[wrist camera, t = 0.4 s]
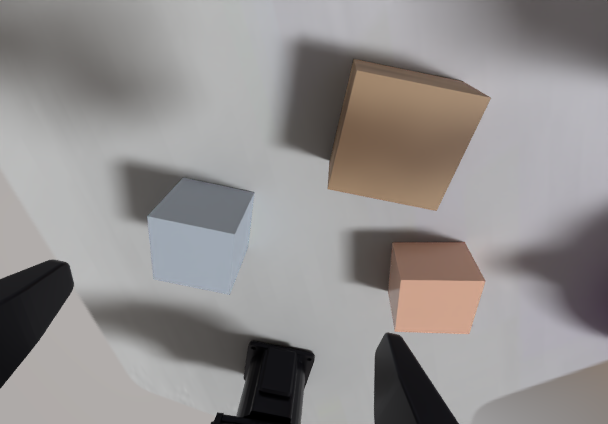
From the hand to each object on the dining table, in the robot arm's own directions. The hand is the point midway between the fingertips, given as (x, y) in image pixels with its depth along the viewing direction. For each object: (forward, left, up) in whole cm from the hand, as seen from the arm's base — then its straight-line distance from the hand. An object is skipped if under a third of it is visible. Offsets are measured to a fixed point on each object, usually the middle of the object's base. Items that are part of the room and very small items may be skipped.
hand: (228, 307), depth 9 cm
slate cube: (-7, +4, -13) cm, 15 cm away
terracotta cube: (-8, -12, -13) cm, 19 cm away
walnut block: (+2, -6, -13) cm, 15 cm away
